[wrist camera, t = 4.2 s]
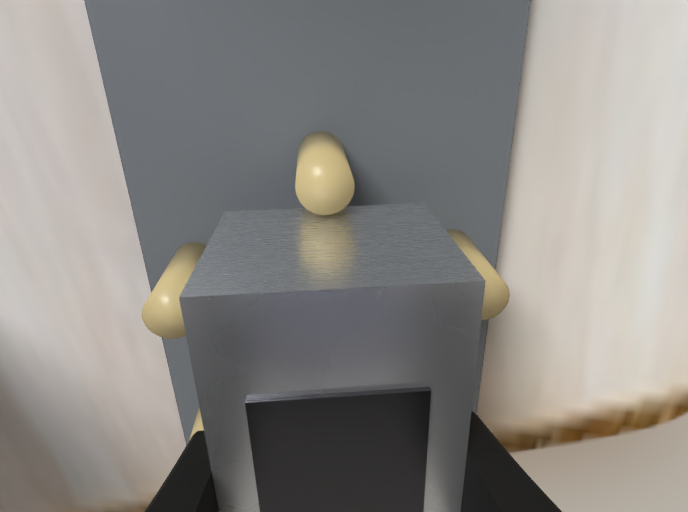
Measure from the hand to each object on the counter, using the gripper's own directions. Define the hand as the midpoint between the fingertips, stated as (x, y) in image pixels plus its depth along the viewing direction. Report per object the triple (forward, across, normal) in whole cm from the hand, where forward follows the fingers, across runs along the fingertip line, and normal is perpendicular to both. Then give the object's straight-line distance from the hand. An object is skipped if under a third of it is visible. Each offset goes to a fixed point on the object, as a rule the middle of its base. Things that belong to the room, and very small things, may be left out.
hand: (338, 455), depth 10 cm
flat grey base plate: (+6, 0, -4) cm, 7 cm away
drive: (+3, 0, -1) cm, 3 cm away
